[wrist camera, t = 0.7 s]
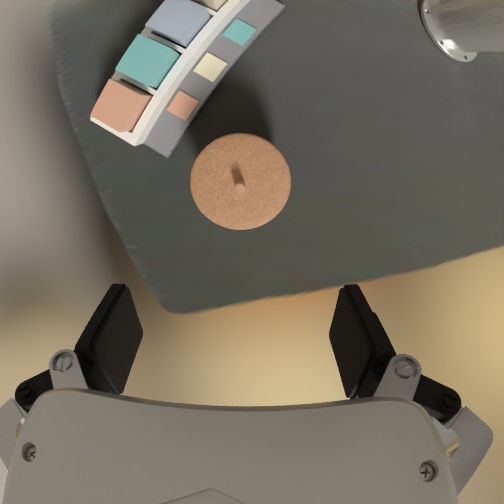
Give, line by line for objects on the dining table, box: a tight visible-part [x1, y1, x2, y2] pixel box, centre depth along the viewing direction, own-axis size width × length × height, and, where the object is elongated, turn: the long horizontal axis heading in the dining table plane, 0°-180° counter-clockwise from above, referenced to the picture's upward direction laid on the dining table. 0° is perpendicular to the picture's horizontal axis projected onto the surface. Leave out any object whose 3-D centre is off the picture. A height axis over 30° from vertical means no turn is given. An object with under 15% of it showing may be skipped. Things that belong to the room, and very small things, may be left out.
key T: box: [115, 34, 181, 88], centre depth 23 cm, size 5×5×5 cm
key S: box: [145, 0, 211, 48], centre depth 21 cm, size 5×5×5 cm
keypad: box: [90, 0, 285, 158], centre depth 25 cm, size 26×12×4 cm, turn 144°
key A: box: [90, 79, 154, 133], centre depth 26 cm, size 5×5×5 cm
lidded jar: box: [190, 133, 291, 230], centre depth 30 cm, size 11×11×9 cm
